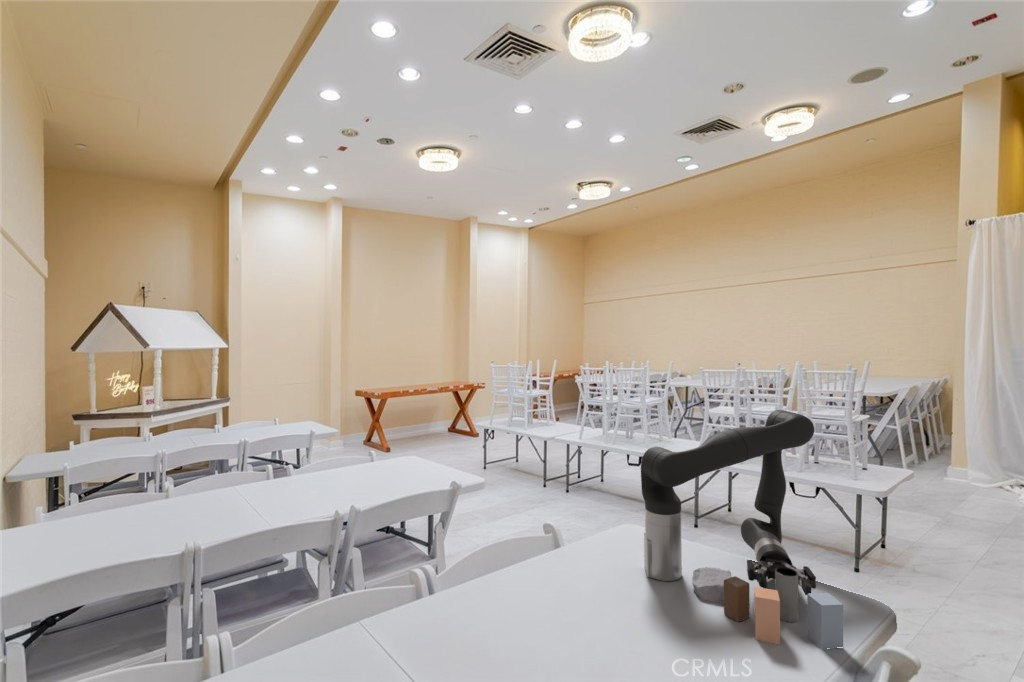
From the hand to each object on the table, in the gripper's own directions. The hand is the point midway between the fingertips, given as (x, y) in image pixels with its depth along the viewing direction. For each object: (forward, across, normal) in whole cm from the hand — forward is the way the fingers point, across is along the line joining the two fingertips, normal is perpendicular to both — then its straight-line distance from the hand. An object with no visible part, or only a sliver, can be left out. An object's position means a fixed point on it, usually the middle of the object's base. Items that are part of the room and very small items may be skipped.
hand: (786, 588), depth 114 cm
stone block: (-8, -15, +7) cm, 18 cm away
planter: (+1, 0, +6) cm, 6 cm away
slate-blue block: (+9, +5, +6) cm, 12 cm away
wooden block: (+4, -11, +6) cm, 13 cm away
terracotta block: (+10, -6, +6) cm, 13 cm away
